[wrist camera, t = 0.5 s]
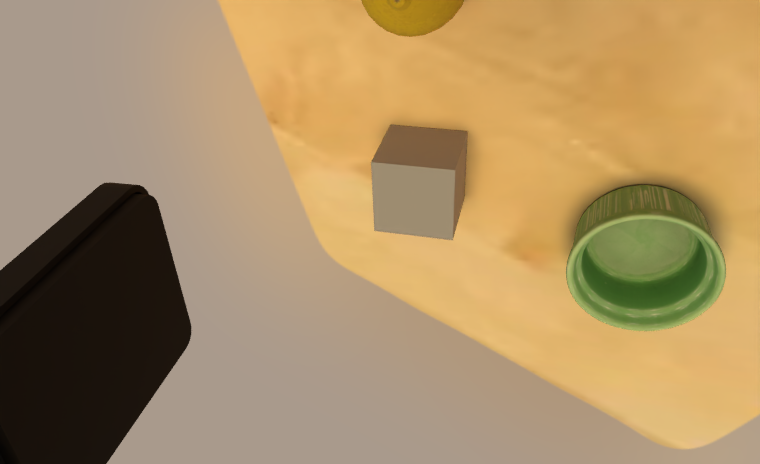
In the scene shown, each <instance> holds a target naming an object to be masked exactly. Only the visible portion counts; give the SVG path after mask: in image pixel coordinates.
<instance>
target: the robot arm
mask: <svg viewBox="0 0 760 464" xmlns="http://www.w3.org/2000/svg"><path fill="white" fill-rule="evenodd" d="M190 337H191V323H190V319H189V316H188V312H187V308H186V305H185V301H184V297H183V294H182V290H181V287H180V283H179V279H178V275H177V272H176V268H175V264H174V261H173V257H172V253H171V250H170V246H169V242H168V239H167V235H166V231H165V228H164V224H163V220H162V217H161V213H160V210H159V206H158V203H157V201H156V199H155V198H154V197H153V196H151V195H149V194H148V192H147V190H146V189H145V188H144V187H142V186H140V185H131V184H119V183H104V184H102V185H100V186H99V187H98V188H96V189H95V190H94V191H93V192H92V193H91V194H89V195H88V196H87V197H86V198H85V199H84V200H82V201H81V202H80V203H79V204H78V205H77V206H75V207H74V208H73V209H72V210H71V211H69V212H68V213H67V214H66V215H65V216H64V217H63V218H61V219H60V220H59V221H58V222H57V223H55V224H54V225H53V226H52V227H51V228H50V229H48V230H47V231H46V232H45V233H44V234H42V235H41V236H40V237H39V238H38V239H37V240H35V241H34V242H33V243H32V244H31V245H30V246H29V247H27V248H26V249H25V250H24V251H23V252H21V253H20V254H19V255H18V256H17V257H16V258H14V259H13V260H12V261H11V262H10V263H9V264H7V265H6V266H5V267H4V268H3V269H2V270H0V464H106V463H107V462H108V460H109V459H110V457H111V456H112V455H113V453H114V452H115V450H116V449H117V447H118V446H119V445H120V443H121V442H122V440H123V439H124V437H125V436H126V434H127V433H128V432H129V430H130V429H131V427H132V426H133V424H134V423H135V421H136V420H137V419H138V417H139V416H140V414H141V413H142V411H143V410H144V408H145V407H146V405H147V404H148V403H149V401H150V400H151V398H152V397H153V395H154V394H155V392H156V391H157V389H158V388H159V386H160V385H161V384H162V382H163V381H164V379H165V378H166V377H167V375H168V374H169V372H170V371H171V369H172V368H173V366H174V365H175V364H176V362H177V361H178V359H179V358H180V356H181V355H182V353H183V352H184V351H185V349H186V347H187V346H188V344H189V341H190Z"/></svg>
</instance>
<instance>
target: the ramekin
mask: <svg viewBox="0 0 760 464" xmlns="http://www.w3.org/2000/svg"><path fill="white" fill-rule="evenodd" d="M725 277H726V265H725V259H724V256H723V253H722V251H721V249H720V247H719V245H718V244H717V242H716V241H715V239H714V238H713V237H712V235H711V232H710V229H709V227H708V224H707V222H706V219H705V218H704V216H703V214H702V213H701V211H700V210H699V209H698V207H697V206H696V205H695V204H694V203H693V202H691V201H690V200H689V199H688V198H686V197H685V196H683V195H682V194H680V193H678V192H676V191H673V190H670V189H667V188H663V187H658V186H650V185H638V186H629V187H624V188H621V189H617V190H615V191H612V192H610V193H608V194H606V195H604V196H602V197H601V198H599V199H598V200H596V201H595V202H594V203H593V204H592V205H590V206H589V207H588V209H587V210H586V211H585V212H584V214H583V215H582V217H581V219H580V221H579V223H578V226H577V229H576V233H575V238H574V243H573V248H572V250H571V252H570V255H569V257H568V261H567V267H566V278H567V284H568V287H569V290H570V292H571V294H572V296H573V298H574V299H575V301H576V302H577V303H578V304H579V305H580V306H581V308H582V309H584V310H585V311H586V312H587V313H588V314H590V315H591V316H592V317H594V318H596V319H598V320H599V321H601V322H603V323H606V324H608V325H611V326H614V327H618V328H622V329H627V330H634V331H656V330H663V329H669V328H673V327H676V326H679V325H682V324H684V323H687V322H689V321H691V320H693V319H695V318H697V317H698V316H700V315H701V314H702V313H704V312H705V311H706V310H707V309H708V308H710V306H711V305H712V304H713V303H714V302H715V301H716V300H717V298H718V297H719V295H720V293H721V291H722V289H723V286H724V282H725Z"/></svg>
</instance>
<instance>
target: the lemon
mask: <svg viewBox="0 0 760 464" xmlns="http://www.w3.org/2000/svg"><path fill="white" fill-rule="evenodd" d="M463 2H464V0H362V4H363V6H364V7H365V9H366V11H367V13H368V14H369V16H370V17H371V18H372V19H373V20H374V21H375V22H376V23H377V24H378V25H379V26H380V27H382V28H383V29H385V30H386V31H388V32H391V33H394V34H397V35H400V36H409V37H412V36H420V35H425V34H428V33H430V32H432V31H435V30H437V29H439V28H440V27H442V26H443V25H444V24H446V23H447V22H448V21H449V20H451V19H452V18H453V16H454V15H455V14H456V13H457V11H458V10H459V9H460V7H461V6H462V4H463Z"/></svg>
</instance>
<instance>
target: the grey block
mask: <svg viewBox="0 0 760 464" xmlns="http://www.w3.org/2000/svg"><path fill="white" fill-rule="evenodd" d="M466 153H467V131H459V130H447V129H435V128H424V127H412V126H400V125H390V127H389V129H388V131H387V133H386V134H385V136H384V138H383V140H382V142H381V144H380V146H379V148H378V150H377V152H376V154H375V156H374V158H373V160H372V162H371V169H372V190H373V211H374V231H380V232H388V233H397V234H405V235H414V236H422V237H430V238H439V239H447V240H453V237H454V234H455V230H456V226H457V223H458V219H459V216H460V212H461V208H462V205H463V201H464V196H465V174H466Z"/></svg>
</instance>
